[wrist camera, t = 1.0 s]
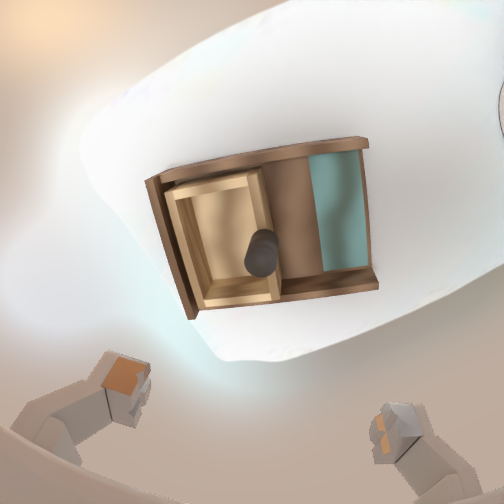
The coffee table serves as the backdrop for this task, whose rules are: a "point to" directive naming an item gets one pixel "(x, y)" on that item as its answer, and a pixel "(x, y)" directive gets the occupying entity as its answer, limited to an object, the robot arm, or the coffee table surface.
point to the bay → (293, 217)
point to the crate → (227, 237)
